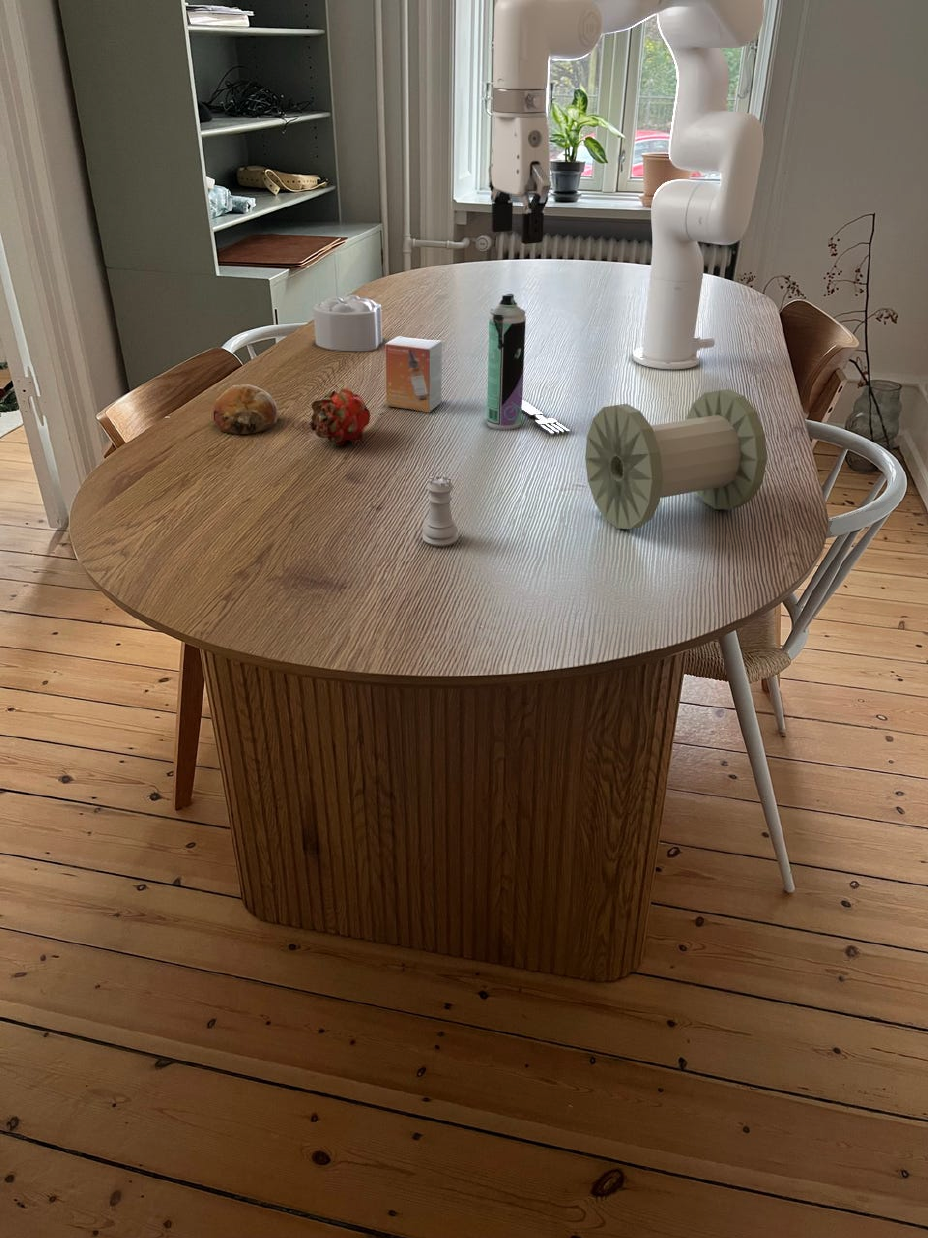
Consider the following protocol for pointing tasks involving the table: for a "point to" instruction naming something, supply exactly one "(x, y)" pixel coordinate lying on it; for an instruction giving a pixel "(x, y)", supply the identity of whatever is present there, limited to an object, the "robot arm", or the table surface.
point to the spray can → (506, 364)
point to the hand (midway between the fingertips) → (516, 236)
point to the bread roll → (244, 410)
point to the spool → (675, 457)
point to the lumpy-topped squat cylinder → (348, 324)
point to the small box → (413, 373)
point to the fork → (543, 420)
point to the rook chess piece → (440, 514)
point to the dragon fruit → (340, 417)
